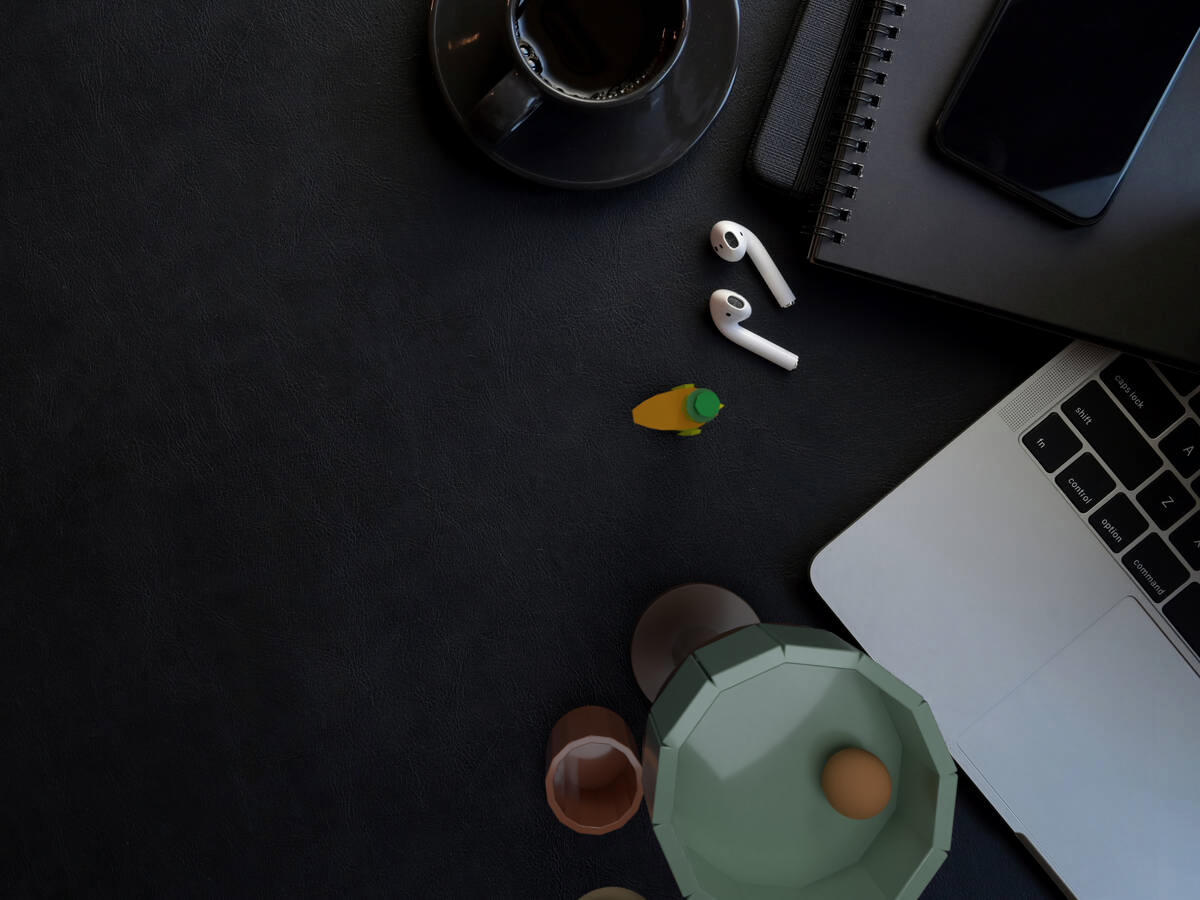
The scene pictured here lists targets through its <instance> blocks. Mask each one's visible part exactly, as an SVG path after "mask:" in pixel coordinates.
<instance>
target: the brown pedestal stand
mask: <svg viewBox="0 0 1200 900" xmlns="http://www.w3.org/2000/svg"><path fill="white" fill-rule="evenodd" d="M760 623H762V621H761V618H760V617H759V616H758V614H757V613H756V611H755V609H753V607H751V605H750V604H749V603H748V602H747V601H746V600H744V598H742V597H741V596H740V595H738V594H737V593H735V592H734V591H732V590H731V589H728V588H727V587H724V586H722V585H718V584H715V583H711V582H705V581H693V582H685V583H681V584H676V585H675V586H671V587H669V588H668V589H666V590H664V591H662V592H660V593H659V594H658V595H656V596H655V597H654V598H653V599H651V600H650V601H649V602H648V603H647V605H646V606H645V607H644V608H643V609H642V611H641V612H640V614H639V615H638V617H637V619H636V622H635V624H634V626H633V629H632V632H631V636H630V640H629V641H630V642H629V660H630V665H631V670H632V673H633V675H634V678H635V681H636V683H637V686H638V687H639V689H640V691H641V692H642V693H643V695H644V696H645V698H646V699H647V700H648V701H649V702H650V703H651V706H650V709H649V712H648V715H649V714H652V713H651V708H652V706H653V705H654V704H655V702H656V701H657V699H658V698H659V697H660V695H661V694H662V693H663V691H664V690H665V688H666V687H667V686H668V684H669V683H670V681H671V680H672V679H673V677H674V676H675V675H676V673H677V672H678V670H679V669H680V668H681V666H682V665H683V664H684V662H685V661H686V659H687V658H688V657H689V655H692V656H695V655H694V651H696V650H698V649H700V648H703V647H705V646H707V645H709V644H711V643H714V642H716V641H718V640H720V639H722V638H725V637H727V636H729V635H731V634H734V633H736V632H738V631H740V630H742V629H745V628H747V627H749V626H751V625H753V624H756V625H757V626H758V627H759V624H760ZM763 623H764V624H774V625H783V626H793V627H803V628H812V629H815V628H813V627H810V626H807V625H803V624H798V623H792V622H782V621H781V622H779V621H767V622H766V621H765V622H763ZM647 723H648V718H646V722H645V725H644V726H645V727H644V732H643V736H642V737H643V738H642V748H641V749H642V750H641V764H642V766H643V759H644V750H645V741H646V732H647Z"/></svg>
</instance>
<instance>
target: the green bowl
mask: <svg viewBox="0 0 1200 900" xmlns="http://www.w3.org/2000/svg"><path fill="white" fill-rule="evenodd" d="M764 623H765V622H761V623H760V624H759V627H758V626H757V625H756V624H753V625H751V626H749V627H747V628H745V629H742V630H740V631H738V632H736V633H734V634H731V635H729V636H727V637H725V638H722V639H720V640H718V641H716V642H714V643H711V644H709V645H707V646H705V647H703V648H700V649H698V650H696V651H694V655H695V656H692V655H689V657H688V658H687V659H686V661H685V662H684V664H683V665H682V666H681V668H680V669H679V670H678V672H677V673H676V675H675V676H674V677H673V679H672V680H671V681H670V683H669V684H668V686H667V687H666V688H665V690H664V691H663V693H662V694H661V695H660V697H659V698H658V699H657V701H656V702H655V704H654V705H653V706H652V705H651V706H652V708H651V707H650V709H651V713H652V714H649V713H648V715H647V719H648V723H647V732H646V741H645V750H644V759H643V765H642V777H641V782H642V788H643V792H644V794H643V797H644V800H645V804H646V807H647V812H648V816H649V819H650V822H651V823H650V824H651V826H652V830H653V832H654V835H655V837H656V839H657V842H658V844H659V846H660V848H661V850H662V853H663V855H664V858H665V859H666V862H667V864H668V867H669V869H670V871H671V874H672V875H673V878H674V880H675V883H676V885H677V887H678V889H679V892H680V895H681V896H682V897H683V898H685V900H918V899H919V898H920V896H921V895H922V893H923V892H924V890H925V889H926V888H927V886H928V885H929V883H930V882H931V881H932V879H933V878H934V877H935V875H936V873H937V872H938V871H939V870H940V868H941V866H942V865H943V864H944V862H945V861H946V860H947V858H948V853H947V852H950V851H951V847H952V845H951V844H952V837H953V836H952V835H953V828H954V818H955V807H956V800H957V799H956V798H957V791H958V790H957V789H958V779H959V775H958V774H957V773H956V772H957V771H958V768H957V767H956V763H955V761H954V759H953V757H952V754H951V752H950V750H949V748H948V745H947V742H946V740H945V739H944V737H943V734H942V732H941V730H940V726H939V725H938V722H937V720H936V718H935V716H934V714H933V711H932V709H931V705H930V704H929V702H928V701H927V700H926V699H924V696H923V695H922V694H920V693H919V692H917V690H915V689H914V688H912V687H911V686H909V684H907V683H905V682H904V681H903V680H901V679H900V678H899V677H897V676H895V674H893V673H892V672H891V671H889V670H888V669H886V668H885V667H884V666H882V665H881V664H880V663H879V662H877V661H875V660H874V659H873V658H871V657H870V656H869V655H867V654H866V653H864V652H863V651H861V650H860V649H858V648H856V647H855V646H853V645H852V644H850V643H849V642H847V641H846V640H844V639H843V638H841V637H839V636H838V635H836V634H835V633H833V632H831V631H828V630H826V629H820V628H814V629H812V628H813V627H811V628H803V627H793V626H783V625H774V624H764ZM849 748H859V749H863V750H866V751H869V752H871V753H872V754H874V755H876V756H877V757H878V758H879V759H880V760H881V761H882V762H883V763H884V765H885V766H886V768H887V770H888V772H889V774H890V777H891V783H892V792H891V797H890V800H889V802H888V804H887V805H886V807H885V808H884V809H883V810H882V811H881V812H880V813H879V814H878V815H876V816H874V817H872V818H869V819H863V820H857V819H851V818H848V817H846V816H843V815H842V814H840V813H838V812H837V811H836V810H835V809H834V808H833V807H832V806H831V805H830V803H829V802H828V800H827V799H826V797H825V794H824V791H823V787H822V775H823V770H824V767H825V765H826V763H827V762H828V760H829V759H830V758H831V757H832V756H833V755H834V754H836V753H837V752H839V751H841V750H844V749H849ZM946 851H947V852H946Z"/></svg>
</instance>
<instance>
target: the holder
mask: <svg viewBox="0 0 1200 900" xmlns="http://www.w3.org/2000/svg"><path fill="white" fill-rule="evenodd" d="M545 747H546V748H545V770H544V771H545V772H544V773H545V775H544V783H545V789H546V790H545V792H546V801H547V804H548V806H549V808H550V809H551V810H552V812H553V813H554V815H555V817H556V819H557V820H558V821H559V822H560V823H561V824H562V825H565V826H567V828H569V829H571V830H573V831H575V832H576V833H578V834H585V835H596V836H601V835H605V834H607V833H611V832H613V831H616V830H618V829H622V827H624V826H625V825H626V824H627V823H628V822H629V821H630V820H631V819H632V818H633V816H634V815H636V814H637V812H638V811H639V809H640V807H641V802H642V800H643V797H644V792H643V788H642V782H641V777H642V768H643V765H642V760H641V757H640V753H639V750H638V747H637V743H636V739H635V736H634V734H633V732H632V730H631V729H630V727H629V725H628V723H627V722H626V721H625V720H624V718H623V717H621V716H620V715H619V714H618V713H616V712H615V711H613V710H611V709H609V708H607V707H603V706H599V705H583V706H579V707H577V708H574V709H572V710H570V711H568V712H566V713H565V714H564V715H562V716H561V717H560V718H559V719H558V720H557V722H556V723H555V724H554V726H553V728H552V729H551V731H550V734H549V736H548V740H547V744H546V746H545Z"/></svg>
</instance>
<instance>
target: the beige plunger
mask: <svg viewBox="0 0 1200 900" xmlns="http://www.w3.org/2000/svg"><path fill="white" fill-rule="evenodd" d="M578 900H647V899H646V898H645V897H644V896H643V895H642V894H641V895H640V894H639V893H638V892H636V891H633V890H631V889H627V888H625V887H620V886H606V887H601V888H597V889H594V890H591V891H589V892H588V893H586V894H584V895H583V896H581V897H580V898H578Z"/></svg>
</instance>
